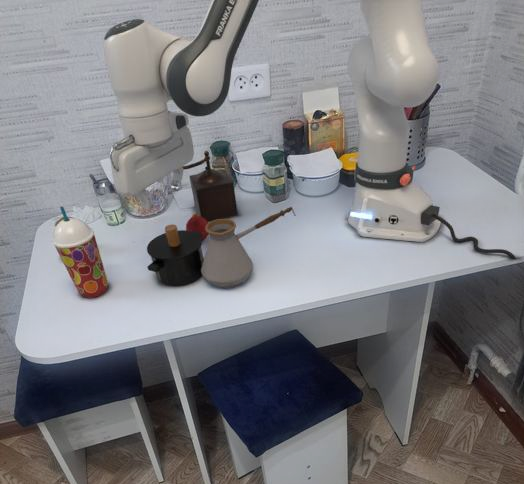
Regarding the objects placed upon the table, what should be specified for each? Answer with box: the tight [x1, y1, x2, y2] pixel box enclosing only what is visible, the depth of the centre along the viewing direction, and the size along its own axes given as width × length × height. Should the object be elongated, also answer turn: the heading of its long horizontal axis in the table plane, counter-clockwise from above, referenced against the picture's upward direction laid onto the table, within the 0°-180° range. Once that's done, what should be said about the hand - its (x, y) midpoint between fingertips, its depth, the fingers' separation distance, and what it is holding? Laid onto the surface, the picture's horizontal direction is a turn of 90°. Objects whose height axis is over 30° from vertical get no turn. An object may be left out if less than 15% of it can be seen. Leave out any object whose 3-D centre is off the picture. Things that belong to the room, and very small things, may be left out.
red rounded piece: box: [185, 211, 209, 243], centre depth 115 cm, size 6×6×8 cm
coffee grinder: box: [183, 150, 239, 223], centre depth 124 cm, size 16×11×18 cm
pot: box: [147, 231, 204, 288], centre depth 106 cm, size 11×17×7 cm
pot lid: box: [146, 224, 203, 261], centre depth 102 cm, size 12×12×5 cm
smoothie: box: [51, 206, 109, 299], centre depth 99 cm, size 8×8×20 cm
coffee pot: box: [201, 206, 296, 289], centre depth 100 cm, size 21×12×15 cm, turn 96°
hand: (163, 198), depth 96 cm, fingers open, 8 cm apart
